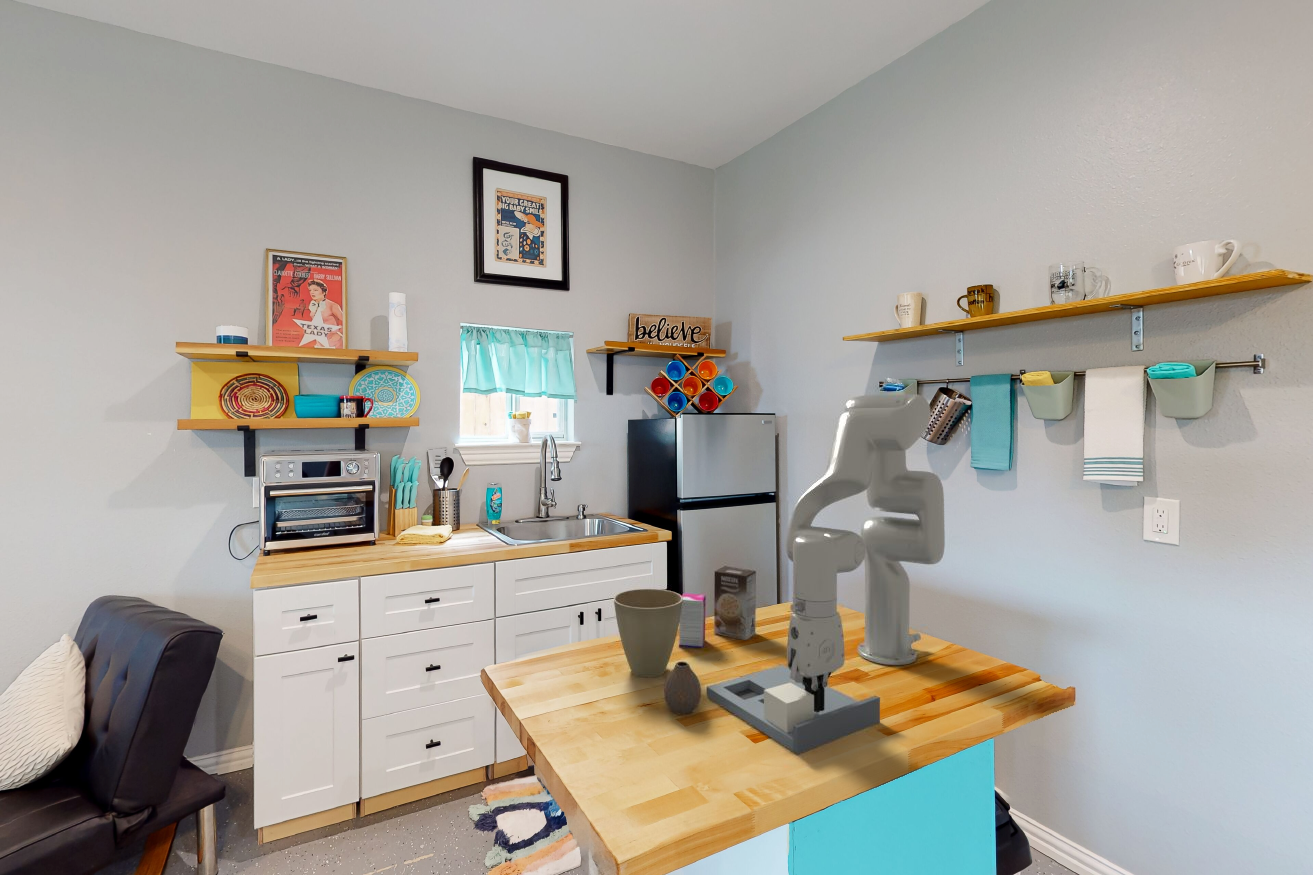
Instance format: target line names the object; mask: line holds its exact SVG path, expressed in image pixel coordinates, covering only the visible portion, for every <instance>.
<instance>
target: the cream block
mask: <svg viewBox="0 0 1313 875" xmlns="http://www.w3.org/2000/svg"><path fill="white" fill-rule="evenodd" d="M764 718H765V719H766V720H768V721H769V722H771V723H773V724H774V725H776V726H777V727H779V728H780V729H782V730H783V731H785V732H786V733H788V732H791V731H793V725H794V724H797V723H800V722H802V721H805V720H808V719H811V718H814V695H812V694H810V693H809V692H807V691H805V690H803V689H801V688H799V687H798V686H796V685H794V684H792V683H787V684H783V685H780V686H776V687H773V688H769V689H765V690H764Z"/></svg>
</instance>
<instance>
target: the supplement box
mask: <svg viewBox="0 0 1313 875" xmlns="http://www.w3.org/2000/svg"><path fill="white" fill-rule="evenodd" d="M681 596H682V597H683V601H682V609H681V616H680V621H679V626H678V631H679V632H678V633H679V634H678V648H687V649H689V648H690V649H703V647H704V643H705V642H706V604H707V603H706V602H707V601H706V600H707V599H706V594H694V593H683V594H682V595H681Z"/></svg>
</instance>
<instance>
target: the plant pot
mask: <svg viewBox="0 0 1313 875" xmlns="http://www.w3.org/2000/svg"><path fill="white" fill-rule="evenodd" d="M682 601H683V597H682V595H681V594H680V593H677V592H675V591H671V590H667V589H660V588H659V589H658V588H639V589H637V588H636V589H630V590H624V591H620V592H619V593H617V594H616V595H615V596H614V597H613V604H614V611H615V617H616V622H617V623H616V624H617V628H618V633H619V636H620V641H621V645H622V648H623V651H624V654H625V657H626V660H627V664H628V666H629V669H630V671H631V673H632V674H633V675H634V676H638V677H641V678H642V677H643V678H654V677H655V678H656V677H659V676H661V675H663V674H664V673H665V672H666V669H667V667H668V664H669V662H670V658H671V655H672V653H673V649H674V646H675V642H676V640H677V635H678V631H679V621H680V616H681V609H682Z"/></svg>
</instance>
